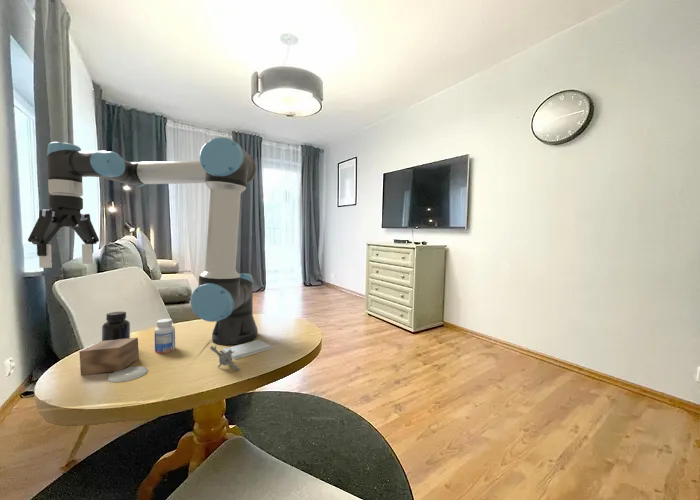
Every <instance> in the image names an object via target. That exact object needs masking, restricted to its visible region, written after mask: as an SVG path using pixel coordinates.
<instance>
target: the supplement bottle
mask: <svg viewBox="0 0 700 500" xmlns="http://www.w3.org/2000/svg"><path fill="white" fill-rule="evenodd" d="M105 315H106V316H105V317H106V318H105V320H106V322H104V323H103V324H102V327H101V341H107V340H118V339H128V338H131V322H130V321H129V320H127V312H126V311H112V312H108V313H106V314H105Z"/></svg>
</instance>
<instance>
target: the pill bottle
mask: <svg viewBox="0 0 700 500" xmlns="http://www.w3.org/2000/svg"><path fill="white" fill-rule="evenodd" d="M156 326H157V327H155V329H154V332H153V333H154V352H155V353H156V354H166V353H170V352H173V351H174V350H175V349H176V327H175V326H174V325H173V320H172V318H163V319H158V320H157V321H156Z"/></svg>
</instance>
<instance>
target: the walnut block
mask: <svg viewBox="0 0 700 500" xmlns="http://www.w3.org/2000/svg"><path fill="white" fill-rule="evenodd" d="M78 353H79V366H80V368H79V369H80V375H81V376H85V375H94V374H95V375H96V374H104V373H111V372H112V373H113V372H115V371H121V370H122V369H124V368H128V367H129V365H131V364H133V363H134V362H136V361H137V360H139V359H140V353H139V338H138V337H130V338H128V339H118V340H107V341H102V340H101V341H99V342H98V343H95V344H93V345H91V346H88V347H86V348H84V349H82V350H80V351H78Z"/></svg>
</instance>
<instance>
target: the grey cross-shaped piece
mask: <svg viewBox="0 0 700 500" xmlns="http://www.w3.org/2000/svg"><path fill="white" fill-rule="evenodd" d="M209 349H210V350H211V351H212V352H214V353H215V354H216V355H217V356H218V362H219V365H218V366H217V368H218V369H219V368H220V367H221V366H227V365H229V366H230V367H232V368H233V370H235V371H236V372H239V371H240V370H241V368H239V367H240V365H235V364H234V363H233V362H232V361H233V360H234V359H233V358H231V355H232V353H233V352H234V351H233V352H232V351H231V350H230V349H231V348H230V349H229V351H228V352H226V353H224V352H223V351H222V350H220V351H218V349H217V345H215V346H213V345H211V346H210V347H209Z"/></svg>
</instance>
